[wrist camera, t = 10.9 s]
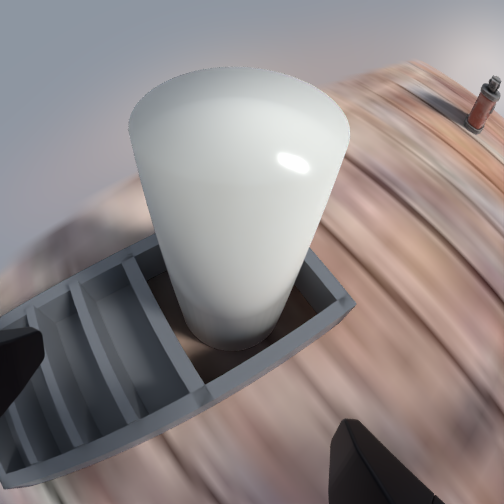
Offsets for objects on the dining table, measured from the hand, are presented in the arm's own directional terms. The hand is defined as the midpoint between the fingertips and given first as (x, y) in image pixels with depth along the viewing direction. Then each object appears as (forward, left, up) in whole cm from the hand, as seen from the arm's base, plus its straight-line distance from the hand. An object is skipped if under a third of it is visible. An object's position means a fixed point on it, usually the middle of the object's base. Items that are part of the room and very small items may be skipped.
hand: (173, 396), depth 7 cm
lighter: (+52, +9, -9) cm, 54 cm away
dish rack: (-2, +5, -9) cm, 10 cm away
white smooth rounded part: (+5, +5, -9) cm, 11 cm away
